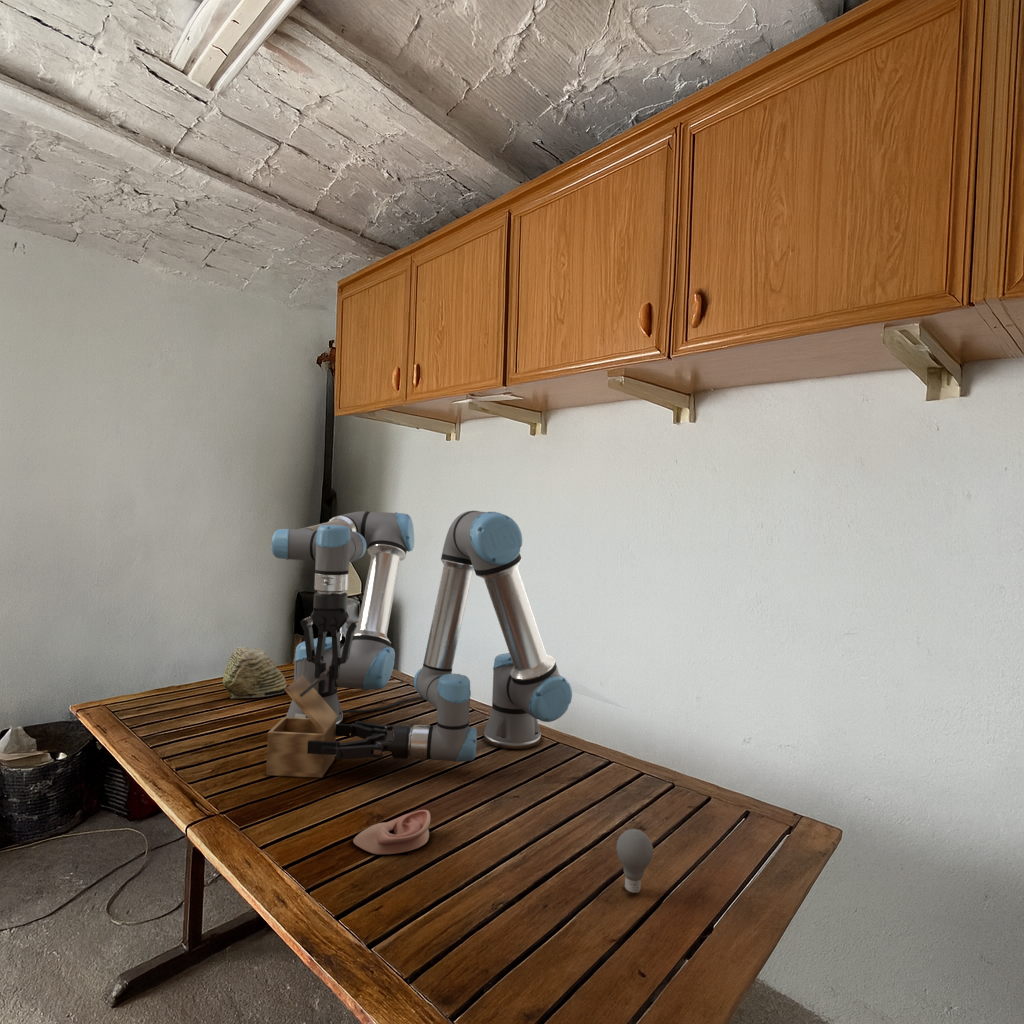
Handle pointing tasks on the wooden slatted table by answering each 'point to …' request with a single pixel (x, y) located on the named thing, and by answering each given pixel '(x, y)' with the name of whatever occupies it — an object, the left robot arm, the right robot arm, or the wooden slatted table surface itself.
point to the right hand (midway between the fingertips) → (315, 737)
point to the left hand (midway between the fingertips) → (326, 692)
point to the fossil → (252, 674)
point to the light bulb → (634, 857)
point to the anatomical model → (396, 834)
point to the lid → (312, 701)
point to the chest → (297, 748)
